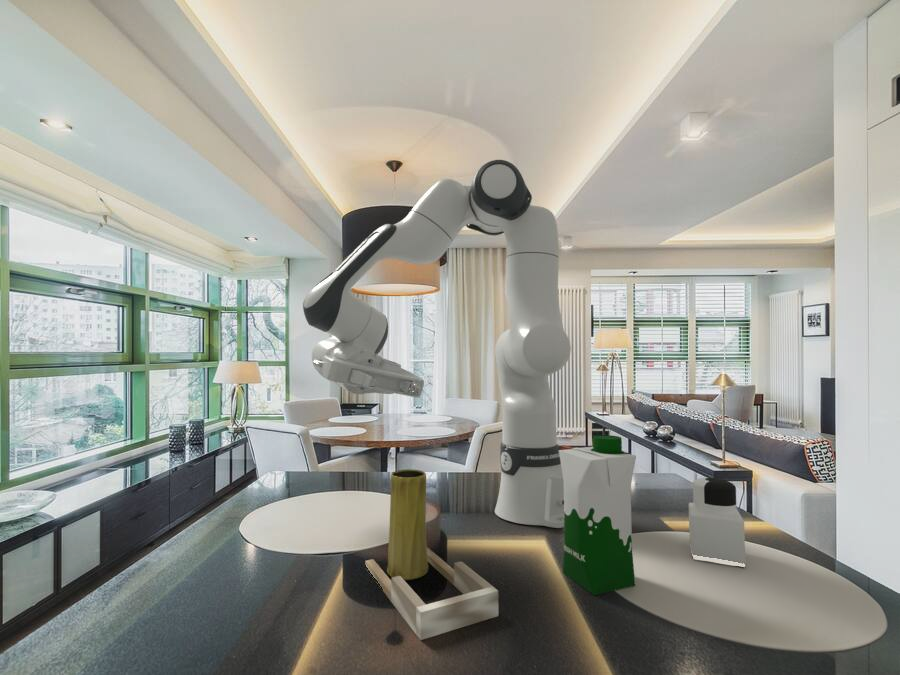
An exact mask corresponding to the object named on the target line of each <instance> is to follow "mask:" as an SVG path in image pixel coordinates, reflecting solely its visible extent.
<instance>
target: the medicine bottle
mask: <svg viewBox="0 0 900 675" xmlns="http://www.w3.org/2000/svg"><path fill="white" fill-rule="evenodd" d="M692 499H693V502H689V503H688V530H689V531H688V532H689V533H688V534H689V535H688V536H689V537H688V538H689V546H690V545H691V548H690V552H691V551H692V554H693V555H697V556H703V557H709V558H717V559H722V560H728V561H733V562H738V563H742V564H743V563H744V564H746V542H745V541H746V539H745V538H746V537H745V536H746V534H745V533H746V532H745V521H744V519H743V517H742V515H741V513H740V511H739V509H738V508H737V487H736V485H735V484H734V483H732V482H730V481H729V480H726V479H722V478H717V477H708V476H706V477H705V476H704V477H703V476H702V477H698V478H696V479H694V480H693V481H692ZM692 554H691V555H692Z"/></svg>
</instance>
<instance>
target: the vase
mask: <svg viewBox="0 0 900 675" xmlns="http://www.w3.org/2000/svg"><path fill="white" fill-rule="evenodd" d="M389 503H390V506H389V530H388V531H389V532H388V545H387V546H388V552H387V567H386V572H387V575H389V577H391V578H392V577H397V576H401V577H402V578H403V579H404V581H412V580H417V579H420V578H422V577H423V576H425V575H427V573H428V571H429V562H428V559H427V548H428V545H427V544H428V543H427V531H426V530H427V529H426V521H427V520H426V515H427V473H426V472H425V471H423V470H419V469H411V468H410V469H399V470H394V471H392V472H391V474H390V502H389Z"/></svg>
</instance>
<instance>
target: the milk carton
mask: <svg viewBox="0 0 900 675" xmlns="http://www.w3.org/2000/svg"><path fill="white" fill-rule="evenodd" d="M622 442H623V441H622V437H620V436H618V435H608V434H596V435H593V436H592V446H586V447H572V449H567V450H559V456H560V461H561V467H562V473H563V481H564V527H563V533H564V534H563V536H564V539H563V541H564V542H563V559H562V561H563V564H562V573H563V575H565V576H566V577H568V578H569V579H571V580H572V581H574V582H575V583H576V584H577V585H579V586H581V587H582V588H584V589H585V591H587V592H588V593H591V594H592V595H593V596H597V595H602V594H606V593H610V592H614V591H619V590H623V589H627V588H631V587H635V586H636V579H635V567H634V558H633V557H634V554H633V536H632V535H633V534H632V533H633V532H632V493H631V492H632V489H631V488H632V480H633V475H634V470H635V464H636V459H637V456H636V455H635V454H631V453H630V452H627V451H625V450H622V448H623V446H622V444H623V443H622Z"/></svg>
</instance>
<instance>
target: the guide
mask: <svg viewBox="0 0 900 675" xmlns="http://www.w3.org/2000/svg"><path fill="white" fill-rule="evenodd" d="M427 559H428V564H429V565H431V566H432V567H433V568H434V569H435V570H436V571H438V572H439V573H440V574H441V576H443V577H444V578H445V579H446V580H447V581H449V583H450V584H452V585H453V586H454V587H455V588H456V589H457V590H458V591H459V592H460V593H462V594H461V595H457V596H453V597H449V598H446V599H442V600H439V601H438V600H437V601H435V602H434V601H433V602H431V603H428V604H426V603H425V602H424V601H423V599H421V597H420V596H419V595H418V594H417V593H416V592H415V591H414V590H413V588H412V587H411V586H410V585H409V584H408V583H407V582H406V580H404V579H403V578H402V577H401V576H397V577H391V578H389V576H388V574H386V573H385V572H384V570H383V569H382V568H381V567H380V565H379V564H378V563H377V562H376V561H375V560H374V558H372V559H368V560H365V563H364V564H365V565H366V567H367V568H368V570H369V571H370V573H371V574H372V575H373V577H374V578H375V579H376V580H377V581H378V583H379V584H380V586H381V587H382V589H383V590H382V589H381V590H382V591H383V593H384V595H386V597H387V598H388V599H389V601H390V602H391V604H392V605H393V606H394V607H395V609H396V610H397V611H398V613H399V614H400V615H401V617H402V618H403V620H405V622H406V624H408V626H409V628H411V630H412V632H414V634H415V636H417V638H418V639H419V641H422V640H426V639H429V638H432V637H435V636H440V635H441V634H446V633H448V632H451V631H454V630H459V629H461V628H464V627H468V626H471V625H474V624H478V623H480V622H484V621H486V620H489V619H493V618H497V617H499V590H498V589H497V588H496V587H494V586H493V585H492V584H491V583H489V582H488V581H487V580H486V579H484V578H483V577H482V576H480V575H479V574H478V573H477V572H475V571H474V570H473V569H472V568H471V567H469V566H468V565H467V564H466V563H464V562H463V561H457V562H454V563H453V568H452V567H451V565H449V564H448V563H447V562H446V561H444V560H443V559H442V558H441V557H440V556H439V555H437V554H436V553H435V552H434V551H432V550H431V549H430V548H429V547H427ZM368 570H367V571H368ZM370 573H369V574H370ZM371 574H370V575H371ZM373 577H372V578H373ZM374 578H373V579H374ZM378 583H377V584H378ZM380 586H379V587H380ZM381 587H380V588H381Z"/></svg>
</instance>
